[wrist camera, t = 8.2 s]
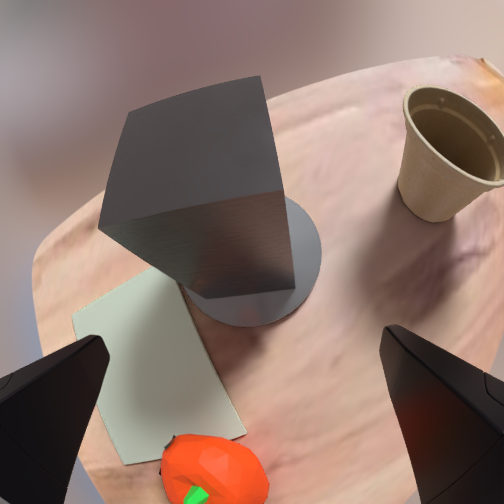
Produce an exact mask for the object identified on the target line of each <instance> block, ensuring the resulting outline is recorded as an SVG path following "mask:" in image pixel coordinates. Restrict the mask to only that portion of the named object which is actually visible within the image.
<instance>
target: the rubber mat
mask: <svg viewBox="0 0 504 504" xmlns="http://www.w3.org/2000/svg"><path fill="white" fill-rule="evenodd" d="M72 319H73V324H74V329H75V333H76V338H77V341H78V340H80V339H82V338H84V337H86V336H88V335H90V334H94V335H100V336H101V337H102V338H103V340H104V343H105V345H106V347H107V349H108V352H109V354H110V362H109V365H108V368H107V371H106V374H105V378H104V381H103V384H102V388H101V391H100V394H99V397H98V400H97V402H96V404H97V406H98V409H99V412H100V414H101V417H102V419H103V421H104V424H105V426H106V429H107V431H108V433H109V435H110V438H111V440H112V442H113V444H114V446H115V448H116V450H117V452H118V454H119V456H120V458H121V460H122V462H123V464H124V465H126V464H133V463H139V462H145V461H151V460H156V459H161V458H162V453H163V451H164V449H165V448H164V447H165V446H166V445H167V444H168V443H169V442H170V441H171V440H172V438H173V435H175V436H178V435H183V434H197V435H208V436H216V437H223V438H225V439H228V440H231V439H234V438H236V437H239V436H242V435H245V434H247V431H246V429H245V427H244V425H243V423H242V422H241V420H240V418H239V416H238V414H237V412H236V410H235V408H234V406H233V405H232V403H231V401H230V399H229V397H228V395H227V393H226V391H225V389H224V387H223V385H222V383H221V381H220V379H219V377H218V375H217V372H216V370H215V368H214V366H213V364H212V362H211V360H210V358H209V355H208V353H207V351H206V349H205V347H204V344H203V342H202V340H201V338H200V335H199V333H198V331H197V328H196V326H195V324H194V321H193V319H192V317H191V314H190V312H189V309H188V307H187V304H186V302H185V299H184V297H183V294H182V292H181V289H180V287H179V284H178V282H177V281H175V280H174V279H172V278H170V277H169V276H167V275H166V274H164V273H163V272H161V271H159V270H158V269H156V268H155V267H153V266H152V267H150V268H149V269H147V270H145V271H143V272H142V273H140V274H138V275H137V276H135V277H133V278H132V279H130V280H128V281H127V282H125V283H123V284H121V285H120V286H118V287H116V288H115V289H113V290H112V291H110V292H108V293H107V294H105V295H103V296H102V297H100V298H98V299H97V300H95V301H94V302H92V303H90V304H89V305H87V306H85V307H84V308H82V309H81V310H79V311H77V312H76V313H74V314H73V315H72Z"/></svg>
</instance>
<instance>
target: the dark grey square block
mask: <svg viewBox="0 0 504 504" xmlns="http://www.w3.org/2000/svg"><path fill="white" fill-rule="evenodd" d="M98 229H99V230H101V231H102V232H103V233H105V234H106V235H108V236H109V237H110V238H112V239H113V240H115V241H116V242H118V243H119V244H120V245H122V246H123V247H125V248H126V249H128V250H129V251H131V252H132V253H134V254H135V255H137V256H138V257H140V258H141V259H143V260H144V261H146V262H147V263H149V264H150V265H152V266H153V267H155V268H156V269H158V270H159V271H161V272H163V273H164V274H166V275H167V276H169V277H170V278H172V279H174V280H175V281H177V282H178V283H180V284H182V285H183V286H185V287H186V288H188V289H190V290H191V291H193V292H195V293H196V294H198V295H200V296H201V297H203V298H205V299H216V298H225V297H234V296H242V295H250V294H258V293H266V292H274V291H281V290H289V289H296V285H295V276H294V267H293V258H292V250H291V241H290V233H289V225H288V218H287V210H286V203H285V196H284V189H283V184H282V178H281V173H280V167H279V162H278V157H277V152H276V147H275V142H274V137H273V132H272V127H271V122H270V118H269V113H268V108H267V104H266V99H265V95H264V90H263V86H262V82H261V77H260V76H254V77H248V78H243V79H238V80H233V81H229V82H224V83H220V84H216V85H212V86H208V87H204V88H200V89H197V90H193V91H190V92H186V93H183V94H179V95H176V96H173V97H170V98H167V99H164V100H161V101H158V102H155V103H152V104H149V105H147V106H144V107H141V108H139V109H136V110H134V111H131V112H129V114H128V117H127V119H126V122H125V125H124V128H123V131H122V134H121V137H120V140H119V143H118V147H117V150H116V153H115V156H114V160H113V163H112V167H111V171H110V174H109V178H108V182H107V187H106V190H105V195H104V199H103V204H102V209H101V214H100V219H99V224H98Z"/></svg>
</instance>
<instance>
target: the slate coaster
mask: <svg viewBox="0 0 504 504" xmlns="http://www.w3.org/2000/svg"><path fill="white" fill-rule="evenodd" d="M285 203H286V210H287V218H288V225H289V233H290V241H291V250H292V258H293V267H294V276H295V285H296V289H289V290H281V291H274V292H266V293H258V294H250V295H242V296H234V297H225V298H216V299H205V298H203V297H201V296H200V295H198V294H196V293H195V292H193V291H191V290H190V289H188V288H186V287H185V286H184V289H185V291H186V293H187V295H188V296H189V298H190V299H191V301H192V302H193V303H194V304H195V305H196V306H197V307H198V308H199V309H200V310H201V311H202V312H204V313H205V314H206V315H208V316H209V317H211V318H213V319H215V320H217V321H220V322H222V323H225V324H228V325H232V326H238V327H256V326H263V325H266V324H270V323H273V322H275V321H277V320H280V319H282V318H284V317H285V316H287V315H288V314H290V313H291V312H293V311H294V310H295V309H296V308H297V307H299V306H300V305H301V304H302V302H303V301H304V300H305V299H306V298H307V296H308V295H309V293H310V292H311V291H312V289H313V287H314V285H315V283H316V280H317V277H318V274H319V270H320V265H321V253H322V251H321V242H320V238H319V234H318V231H317V229H316V226H315V224H314V223H313V221H312V219H311V218H310V216H309V215H308V214H307V213H306V211H305V210H304V209H302V208H301V207H300V206H299V205H298V204H297V203H295V202H294V201H293V200H291V199H289V198H287V197H285Z"/></svg>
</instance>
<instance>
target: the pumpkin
mask: <svg viewBox="0 0 504 504" xmlns="http://www.w3.org/2000/svg"><path fill="white" fill-rule="evenodd" d="M164 448H165V449H164V451H163V453H162V460H161V468H160V472H159V474H160V475H161V476H162V480H163V484H164V488H165V491H166V494H167V497H168V500H169V501H170V502H171V503H172V504H264V502H265V500H266V499H267V497H268V491H269V482H268V479H267V477H266V474H265V472H264V469H263V468H262V466H261V464H260V462H259V460H258V458H257V457H256V455H255V454H254V453H253V452H252V451H251V450H250V449H248V448H246V447H244V446H242V445H240V444H238V443H236V442H233V441H230V440H228V439H225V438H223V437H216V436H208V435H197V434H183V435H178V436H175V435H173V438H172V440H171V441H170V442H169V443H168V444H167V445H166V446H165V447H164Z"/></svg>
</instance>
